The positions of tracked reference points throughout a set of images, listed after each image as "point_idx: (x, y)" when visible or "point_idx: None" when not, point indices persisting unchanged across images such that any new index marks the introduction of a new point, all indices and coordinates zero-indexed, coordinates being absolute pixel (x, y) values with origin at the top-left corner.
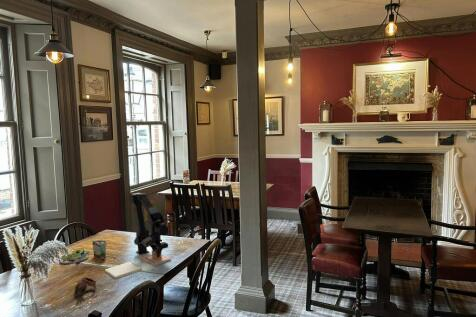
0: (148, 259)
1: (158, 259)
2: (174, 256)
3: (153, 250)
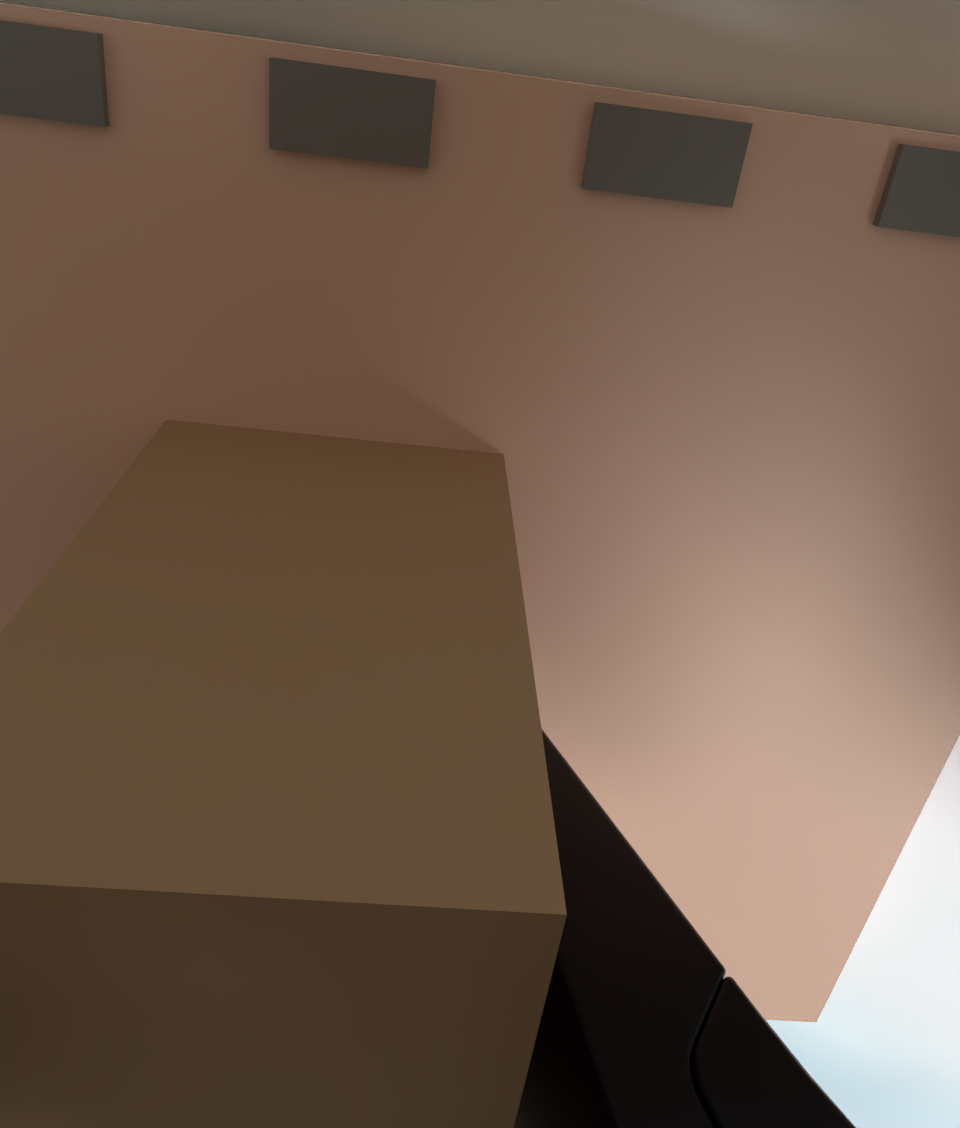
0: (565, 180)
1: (27, 589)
2: None
3: (397, 1039)
